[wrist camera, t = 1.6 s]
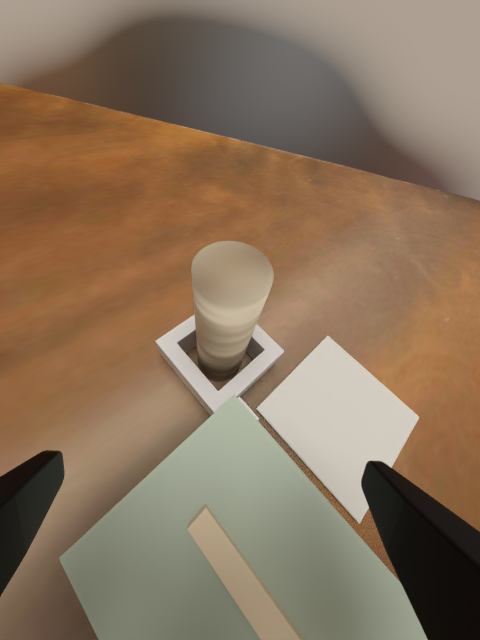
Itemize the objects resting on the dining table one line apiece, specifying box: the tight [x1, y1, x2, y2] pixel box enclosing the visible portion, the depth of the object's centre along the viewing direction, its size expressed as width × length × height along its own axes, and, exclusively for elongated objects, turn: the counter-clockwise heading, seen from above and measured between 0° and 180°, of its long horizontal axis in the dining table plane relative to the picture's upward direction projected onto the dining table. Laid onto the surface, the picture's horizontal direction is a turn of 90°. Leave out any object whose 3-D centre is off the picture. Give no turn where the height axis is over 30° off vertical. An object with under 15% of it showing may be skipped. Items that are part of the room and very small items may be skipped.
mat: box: [256, 336, 419, 524], centre depth 22 cm, size 11×11×1 cm
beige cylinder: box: [191, 241, 274, 381], centre depth 17 cm, size 4×4×13 cm
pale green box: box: [59, 315, 428, 640], centre depth 16 cm, size 24×18×6 cm
